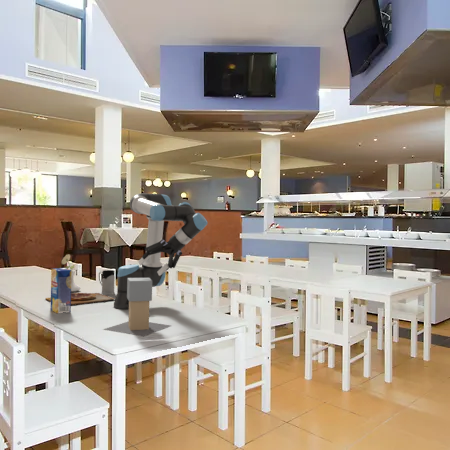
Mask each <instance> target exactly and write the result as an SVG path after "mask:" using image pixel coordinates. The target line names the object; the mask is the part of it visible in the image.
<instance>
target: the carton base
mask: <svg viewBox="0 0 450 450" xmlns="http://www.w3.org/2000/svg"><path fill="white" fill-rule="evenodd" d="M127 322H128V326H129V329H130V330H144V329H149V322H150V301H129V309H128V321H127Z"/></svg>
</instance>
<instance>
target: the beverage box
mask: <svg viewBox="0 0 450 450" xmlns="http://www.w3.org/2000/svg"><path fill="white" fill-rule="evenodd" d="M50 269H51V270H50V271H51V275H50V298H51V302H50V309H49V310H50V311H52V312H54V313H55V314H64V313H63V312H66V313H71V311H72V309H71V306H72V305H71V293H72V292H71V275H72V270H73V269H70V268H68V269H66V268H65V267H59V268H57V267H56V268H50Z"/></svg>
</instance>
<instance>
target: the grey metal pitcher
mask: <svg viewBox="0 0 450 450" xmlns="http://www.w3.org/2000/svg"><path fill="white" fill-rule="evenodd" d="M101 274H102V279H101V277H100V276H101ZM115 278H116V276H115V270H112V269H111V270H108V269H107V270H106V269H105V270H102V271H100V272H99V273H98V281H99V284H100V285H101V292H100V294H102V295H107V296H111V295H112V296H113V295H115V294H116V293H115Z"/></svg>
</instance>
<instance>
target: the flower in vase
mask: <svg viewBox="0 0 450 450" xmlns="http://www.w3.org/2000/svg"><path fill="white" fill-rule="evenodd" d="M70 260H71V255H70V254H65V256H64V257H62V260H61V265H65V264H67V263H68V265H66V266H65V267H64V268H66V269H69V270H72V275H71V293H74V292H78V291H79V290H81V287H80V285H78V284H77V283H76V282H75V281H74V276H75V273H76V270H73V269H74V268H75V264H73V265H70V262H69V261H70Z"/></svg>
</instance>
